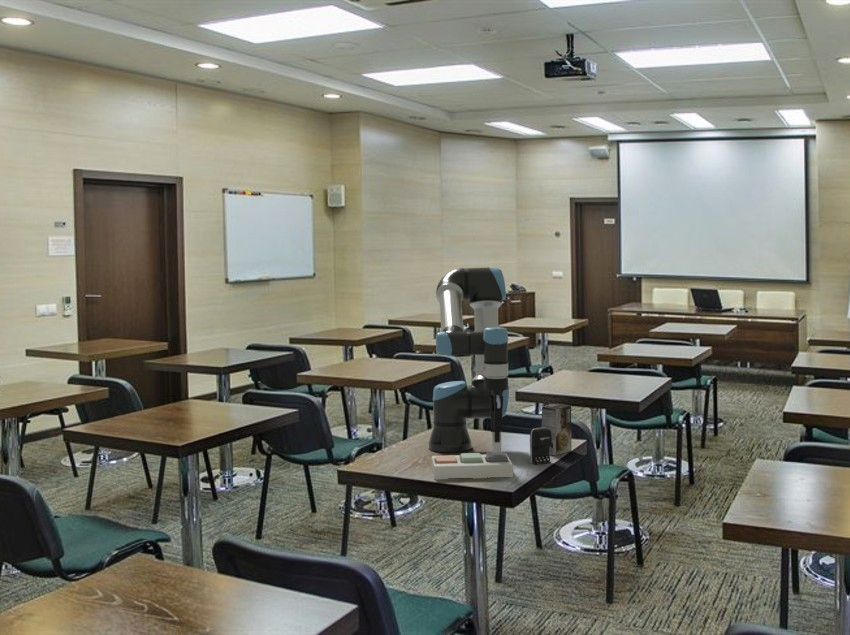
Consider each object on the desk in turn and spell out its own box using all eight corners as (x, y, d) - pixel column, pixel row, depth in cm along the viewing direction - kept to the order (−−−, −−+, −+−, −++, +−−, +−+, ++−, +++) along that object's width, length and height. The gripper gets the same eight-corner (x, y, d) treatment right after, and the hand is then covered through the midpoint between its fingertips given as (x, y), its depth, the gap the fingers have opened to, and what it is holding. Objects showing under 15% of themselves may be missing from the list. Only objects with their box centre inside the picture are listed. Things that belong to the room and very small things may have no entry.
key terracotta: (435, 465, 269) (435, 456, 268) (454, 465, 269) (454, 456, 269) (436, 470, 263) (436, 461, 262) (456, 470, 263) (456, 460, 263)
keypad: (431, 468, 273) (431, 454, 272) (506, 466, 274) (506, 453, 273) (434, 479, 259) (434, 465, 258) (512, 477, 260) (512, 463, 260)
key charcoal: (486, 462, 269) (486, 452, 269) (504, 461, 270) (504, 452, 269) (488, 466, 263) (488, 457, 263) (507, 466, 264) (507, 456, 263)
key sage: (460, 462, 269) (460, 453, 269) (479, 462, 269) (479, 452, 269) (462, 467, 263) (462, 457, 263) (481, 466, 263) (481, 457, 263)
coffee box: (557, 448, 298) (556, 402, 297) (572, 451, 294) (572, 405, 292) (540, 452, 292) (540, 406, 291) (556, 455, 287) (556, 408, 286)
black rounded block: (536, 465, 274) (536, 430, 273) (529, 463, 277) (529, 428, 276) (553, 462, 277) (553, 428, 277) (546, 460, 281) (546, 426, 280)
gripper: (481, 374, 271) (482, 447, 272) (486, 380, 258) (487, 456, 259) (505, 374, 271) (505, 447, 273) (511, 379, 258) (511, 456, 260)
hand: (496, 451), depth 266 cm, fingers closed
